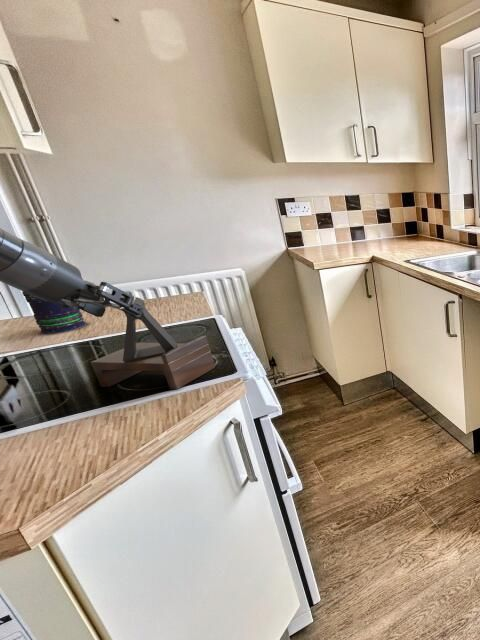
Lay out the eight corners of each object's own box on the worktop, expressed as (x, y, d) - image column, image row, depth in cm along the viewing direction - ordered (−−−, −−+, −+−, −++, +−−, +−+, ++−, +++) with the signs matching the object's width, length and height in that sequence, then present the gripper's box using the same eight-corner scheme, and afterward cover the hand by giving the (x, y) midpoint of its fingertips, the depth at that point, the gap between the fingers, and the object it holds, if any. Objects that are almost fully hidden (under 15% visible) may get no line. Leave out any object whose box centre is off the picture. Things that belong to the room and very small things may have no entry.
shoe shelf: (101, 387, 91) (86, 353, 88) (146, 365, 101) (134, 334, 98) (177, 389, 89) (165, 355, 86) (215, 367, 100) (205, 335, 97)
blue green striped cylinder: (42, 328, 129) (20, 280, 123) (86, 320, 135) (67, 274, 129) (39, 336, 122) (15, 286, 116) (85, 328, 128) (64, 279, 122)
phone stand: (123, 362, 88) (101, 307, 84) (126, 353, 93) (105, 301, 88) (176, 351, 93) (158, 299, 89) (176, 343, 98) (159, 293, 93)
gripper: (80, 251, 72) (160, 297, 87) (7, 252, 74) (97, 297, 89) (60, 289, 69) (146, 330, 84) (-16, 289, 71) (82, 329, 86)
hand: (121, 313), depth 86 cm, fingers open, 8 cm apart
